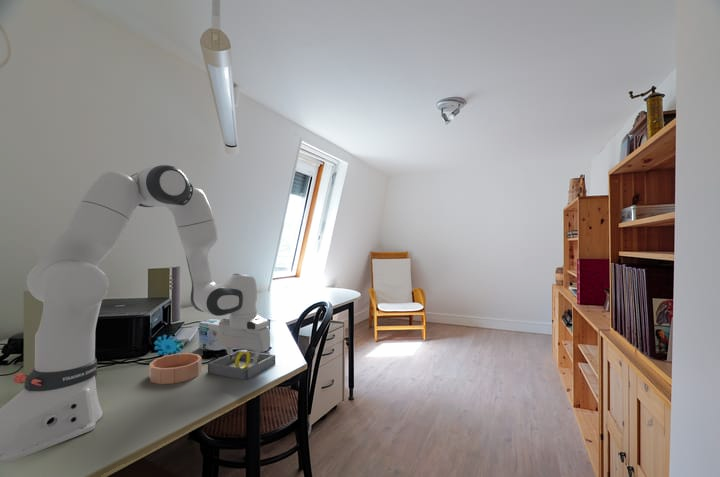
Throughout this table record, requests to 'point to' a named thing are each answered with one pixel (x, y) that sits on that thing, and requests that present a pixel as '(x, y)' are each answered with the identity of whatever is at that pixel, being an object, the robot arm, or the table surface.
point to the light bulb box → (208, 333)
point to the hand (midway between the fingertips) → (242, 360)
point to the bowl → (175, 368)
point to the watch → (239, 358)
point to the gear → (167, 345)
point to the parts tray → (222, 369)
